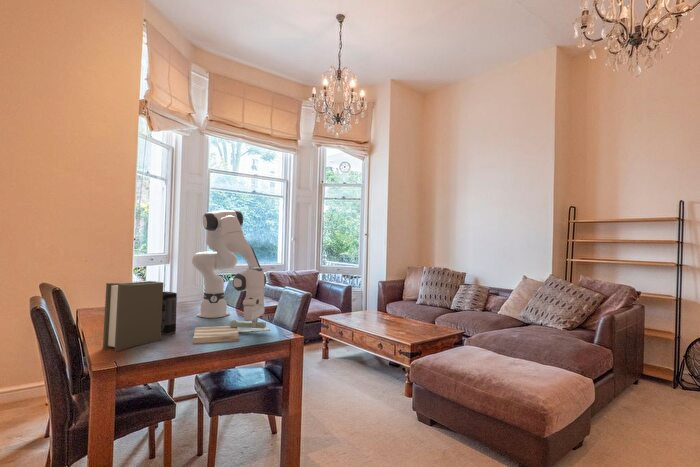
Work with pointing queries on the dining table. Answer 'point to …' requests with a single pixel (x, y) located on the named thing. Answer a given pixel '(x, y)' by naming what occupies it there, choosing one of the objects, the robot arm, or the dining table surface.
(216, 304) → the robot arm
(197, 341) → the wooden cutting board
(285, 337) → the dining table surface
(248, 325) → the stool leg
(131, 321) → the book
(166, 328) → the electronic device
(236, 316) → the dining table surface
